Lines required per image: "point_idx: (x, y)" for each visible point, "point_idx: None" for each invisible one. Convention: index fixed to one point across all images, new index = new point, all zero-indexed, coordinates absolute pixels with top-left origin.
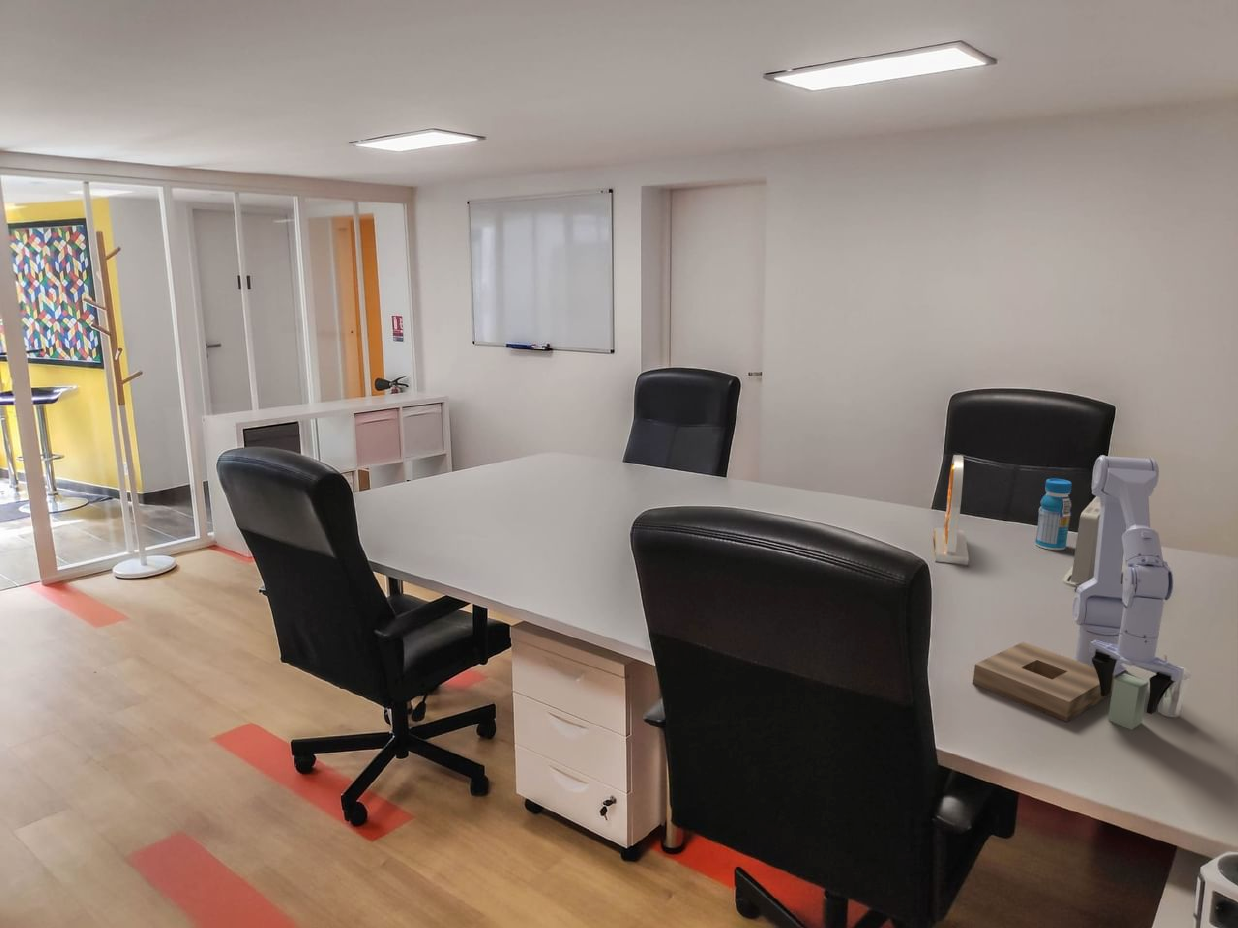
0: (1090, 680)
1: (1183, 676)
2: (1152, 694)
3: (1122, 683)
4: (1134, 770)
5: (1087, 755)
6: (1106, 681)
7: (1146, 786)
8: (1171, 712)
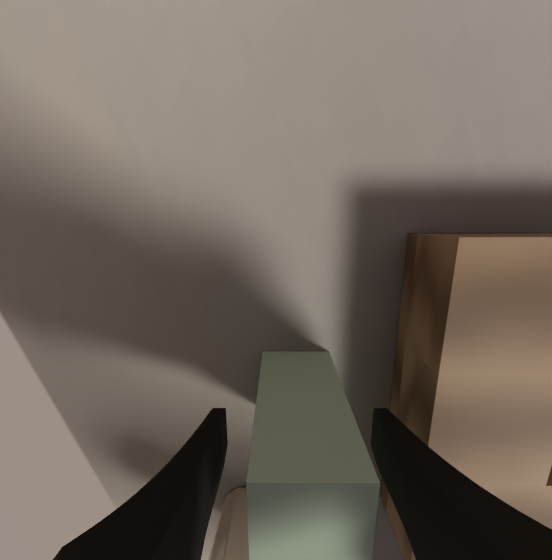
0: None
1: None
2: (178, 475)
3: (331, 474)
4: (137, 104)
5: (270, 62)
6: (406, 468)
7: (64, 27)
8: (229, 504)
